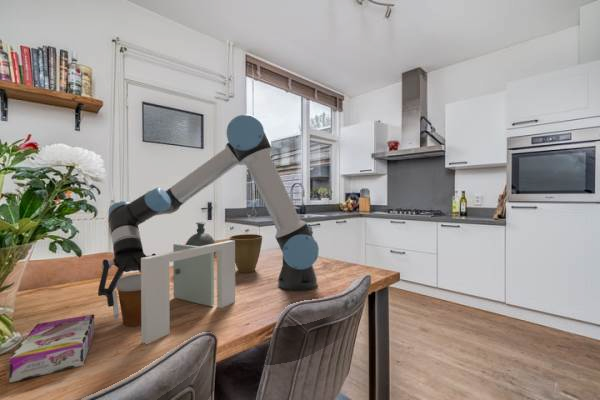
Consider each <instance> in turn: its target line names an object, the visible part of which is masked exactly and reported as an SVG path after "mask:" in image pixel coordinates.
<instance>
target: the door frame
mask: <svg viewBox="0 0 600 400" xmlns="http://www.w3.org/2000/svg"><path fill="white" fill-rule="evenodd" d="M211 252H216V307H217V308H219V309H223V308H225V307H227V306H229V305H230V306H231V304H234V303H235V302H236V263H235V241H232V240H230V239H229V240H225V241H220V242H215V244H210V245H205V246H200V247H194V248H189V249H184V250H179V251H174V252H173V251H171V252H165V253H161V254H156V255H154V256H151V255H148V256H149V257H144V258H141V273H140V274H141V325H140V326H141V327H140V328H141V330H140V331H141V332H140V333H141V337H140V338H141V344H144V343H145V344H144V345H146V344H147V345H149V344H151V343H153V342H155V341H157V340H160V339H161V338H163V337H166V336H167V335H170V332H171V331H170V329H171V328H170V327H171V326H170V324H171V323H170V322H171V321H170V319H171V317H170V315H171V314H170V312H171V310H170V309H171V308H170V307H171V306H170V305H171V304H170V301H171V300H170V299H171V298H170V295H171V294H170V263H172V262H173V261H177V260H181V259H186V258H190V257H194V256H198V255H203V254H207V253H211Z"/></svg>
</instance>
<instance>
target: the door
mask: <svg viewBox="0 0 600 400" xmlns="http://www.w3.org/2000/svg"><path fill="white" fill-rule="evenodd" d="M194 247H200V246H191V245H186V244H182V243H174V244H173V248H172V249H173V250H172V252H174V251H179V250H184V249H189V248H194ZM172 264H173V298H175V299H178V300H179V299H180V300H182V301H188V302H191V303H195V304H199V305H204V306H208V307H213V306H214V305H215V294H214V293H215V257H214V252H211V253H207V254H203V255H198V256H194V257H190V258H186V259H181V260H177V261H173V263H172Z"/></svg>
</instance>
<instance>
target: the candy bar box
mask: <svg viewBox="0 0 600 400" xmlns="http://www.w3.org/2000/svg"><path fill="white" fill-rule="evenodd" d="M94 334H95V314H94V313H93V314H86V315H81V316H77V317H76V316H75V317H71V318H63V319H59V320H52V321H47V322H45V321H44V322H39V323H37V324H36V325H35V326H34V327H33V328H32V330H31V331H30V333H29V334H28V335H27V336H26V337H25V339H24V340H23V341H22V343H20V345H19V346H18V347H17V349H16V350H14V352H13V353H12V354H11V356H10V357H9V368H8V369H9V375H8V377H9V379H8V380H9V381H8V382H9V383H14V382H18V381H24V380H28V379H31V378H36V377H39V376H44V375H49V374H53V373H57V372H61V371H65V370H70V369H74V368H78V367H82V366H84V364H85V361H86V357H87V355H88V352H89V349H90V347H91V343H92V341H93V337H94Z"/></svg>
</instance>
